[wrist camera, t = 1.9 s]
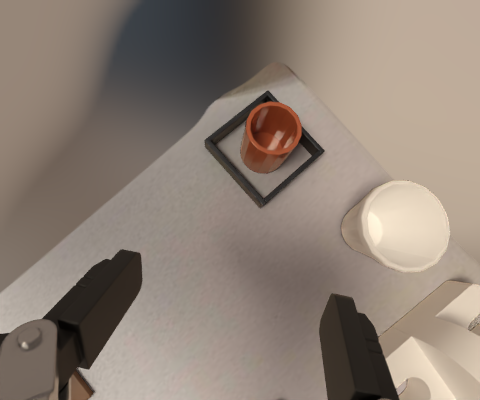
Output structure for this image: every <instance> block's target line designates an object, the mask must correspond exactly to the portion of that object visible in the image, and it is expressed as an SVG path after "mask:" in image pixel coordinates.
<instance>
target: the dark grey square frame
mask: <svg viewBox="0 0 480 400" xmlns="http://www.w3.org/2000/svg"><path fill="white" fill-rule="evenodd" d="M267 102H279V101H278V100H277V99H276V98H275V97H274V96H273V95H272V94H271V93H270V92H269V91H266V92H265V93H264V94H263V95H261V96H260V97H259V98H257V99H256V100H255V101H254V102H252V103H251V104H250V105H249V106H247V107H246V108H245V109H244V110H242V111H241V112H240V113H238V114H237V115H236V116H235V117H233V118H232V119H231V120H230V121H228V122H227V123H226V124H225V125H223V126H222V127H221V128H219V129H218V130H217V131H216V132H214V133H213V134H212V135H211V136H209V137H208V138H207V139H205V147H206V149H207V150H208V151H209V152H210V153H211V154H212V155H213V156H214V157H215V159H216V160H217V161H218V162H219V163H220V164H221V165H222V166H223V168H224V169H225V170H226V171H227V172H228V173H229V174H230V175H231V176H232V178H233V179H234V180H235V181H236V182H237V183H238V184H239V185H240V187H241V188H242V189H243V190H244V191H245V192H246V193H247V194H248V195H249V197H250V198H251V199H252V200H253V201H254V202H255V203H256V204H257V206H258V207H259V208H261V207H262V206H263V205H265V204H266V203H267V202H268V201H269V200H270V199H271V198H272V197H274V196H275V195H276V194H277V193H278V192H279V191H280V190H281V189H282V188H284V187H285V186H286V185H287V184H288V183H289V182H290V181H291V180H293V179H294V178H295V177H296V176H297V175H298V174H299V173H300V172H302V171H303V170H304V169H305V168H306V167H307V166H308V165H309V164H311V163H312V162H313V161H314V160H315V159H316V158H317V157H318V156H320V155H321V154H322V153H323V152H324V149H323V148H322V147H321V146H320V145H319V144H318V143H317V142H316V141H315V140H314V139H313V138H312V137H311V136H310V135H309V133H308V132H307V131H306V130H305V129H304V128H303V127H302V131H301V138H300V140H299V142H300V143H301V144H302V145H303V146H304V147H305V148H306V150H307V151H308V152H309V153H310V154H311V155H312V157H311V158H310V159H308V160H307V161H306V162H305V163H304V164H303V165H302V166H300V167H299V168H298V169H297V170H296V171H295V172H294V173H293V174H291V175H290V176H289V177H288V178H287V179H286V180H285V181H284V182H282V183H281V184H280V185H279V186H278V187H277V188H276V189H274V190H273V191H272V192H271V193H270V194H269V195H268V196H267V197H265V198H264V199H262V197H261V196H260V195H259V194H258V193H257V192H256V191H255V190H254V189H253V187H252V186H251V185H250V184H249V183H248V182H247V181H246V180H245V179H244V177H243V176H242V175H241V174H240V173H239V172H238V171H237V170H236V168H235V167H234V166H233V165H232V164H231V163H230V162H229V161H228V160H227V158H226V157H225V156H224V155H223V154H222V153H221V152H220V151H219V150H218V148H217V147H216V146H215V144H216V143H217V142H219V141H220V140H221V139H222V138H224V137H225V136H226V135H227V134H229V133H230V132H231V131H232V130H234V129H235V128H236V127H237V126H239V125H240V124H241V123H242V122H244V121H245V120H246V119H247V118H248V117H249V115H250V113H251V111H252V110H253V109H255V108H256V107H257V106H258V105H260V104H263V103H267Z"/></svg>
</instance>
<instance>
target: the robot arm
mask: <svg viewBox="0 0 480 400" xmlns="http://www.w3.org/2000/svg"><path fill="white" fill-rule="evenodd" d="M141 285H142V264H141V254H140V253H138V252H133V251H128V250H123V249H122V250H120V251H119V252H118V253H117V254H116V255H115V256H114V257H113V258H112V259H111V260H109V259H105V260H103V261H101V262H100V263H98V264H96V265H94V266H93V267H92V268H91V269H90V270H89V271H88V272H87V273H86V274H85V275H84V277H83V278H81V279H80V280H79V281H78V282H77V283H76V286H73V287H72V288H71V290H70V291H69V292H68V293H67V294H66V295H65V296H64V297H63V298H62V299H61V300H60V301H59V302H58V303H57V304H56V305H55V306H54V307H53V308H52V309H51V310H50V311H49V312H48V313H47V314H46V315H45V316H44V317H43V318H42V319H39V320H33V321H30V322H27V323H25V324H23V325H21V326H19V327H17V328H16V329H14V330H13V331H12V332H11V333H6V334H0V400H71V376H72V375H73V373H74V372H75V370H76V369H77V367H80V368H84V369H88V370H89V369H90V367H91V366H92V364H93V363H94V361H95V359H96V358H97V356H98V355H99V353H100V352H101V350H102V349H103V347H104V346H105V344H106V343H107V341H108V340H109V338H110V336H111V335H112V333H113V332H114V330H115V329H116V327H117V326H118V324H119V323H120V321H121V320H122V318H123V316H124V315H125V313H126V312H127V310H128V309H129V307H130V306H131V304H132V303H133V301H134V300H135V298H136V296H137V295H138V293H139V291H140V288H141ZM319 334H320V342H321V350H322V358H323V365H324V373H325V381H326V388H327V396H328V400H399V397H398V394H397V391H396V388H395V385H394V382H393V379H392V377H391V374H390V371H389V368H388V365H387V362H386V359H385V356H384V355H383V351H382V348H381V345H380V343H379V339H378V336H377V333H376V330H375V328H374V326H373V324H372V323H371V322H370V320H369V319H368V318H367V316H366V315H365V314H362V313H357V310H356V307H355V303H354V300H353V298H352V297H348V296H343V295H338V294H333V293H332V294H331V295H330V297H329V300H328V302H327V305H326V307H325V310H324V313H323V315H322V318H321V321H320V328H319Z"/></svg>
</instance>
